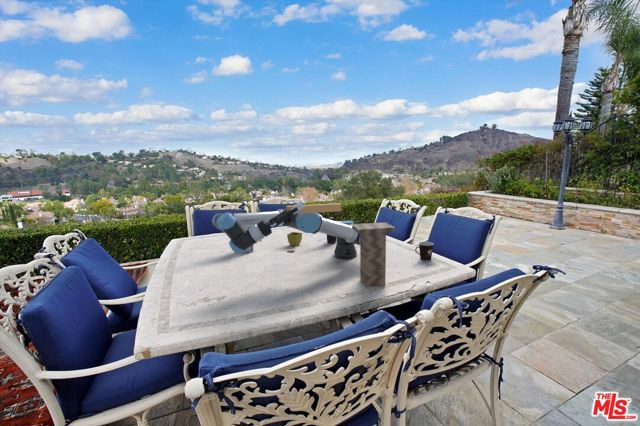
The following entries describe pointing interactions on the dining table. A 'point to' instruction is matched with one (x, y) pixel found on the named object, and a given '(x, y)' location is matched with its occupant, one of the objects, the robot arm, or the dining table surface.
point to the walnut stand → (373, 252)
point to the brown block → (318, 208)
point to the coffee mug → (425, 250)
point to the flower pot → (294, 238)
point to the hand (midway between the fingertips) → (302, 203)
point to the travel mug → (330, 238)
